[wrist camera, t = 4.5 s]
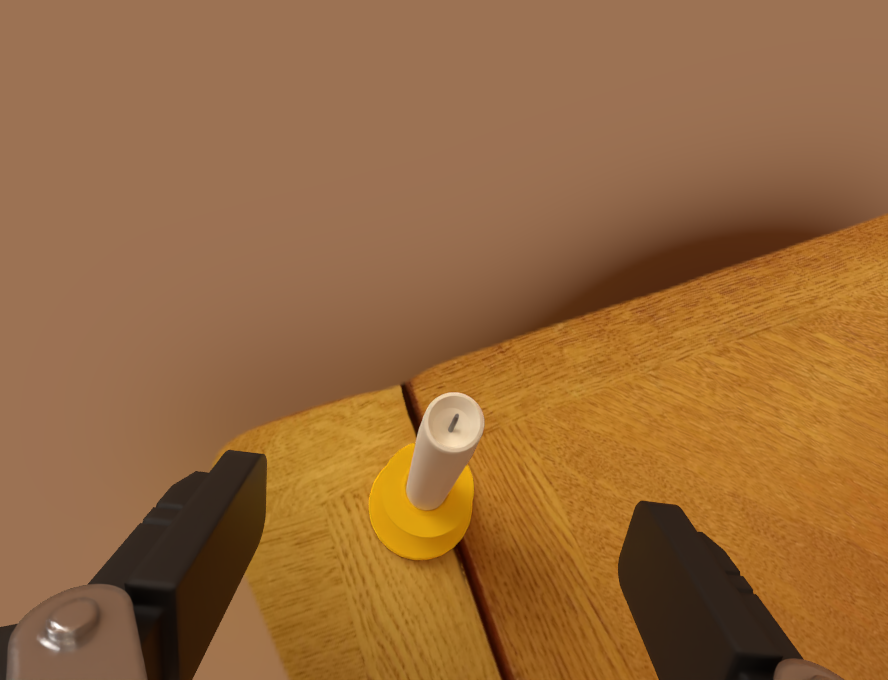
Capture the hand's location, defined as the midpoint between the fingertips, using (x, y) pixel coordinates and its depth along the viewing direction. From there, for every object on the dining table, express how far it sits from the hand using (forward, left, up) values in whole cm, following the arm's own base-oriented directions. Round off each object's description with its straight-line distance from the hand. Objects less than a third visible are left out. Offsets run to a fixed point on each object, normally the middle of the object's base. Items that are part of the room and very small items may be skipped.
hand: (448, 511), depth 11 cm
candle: (+1, +2, -15) cm, 16 cm away
